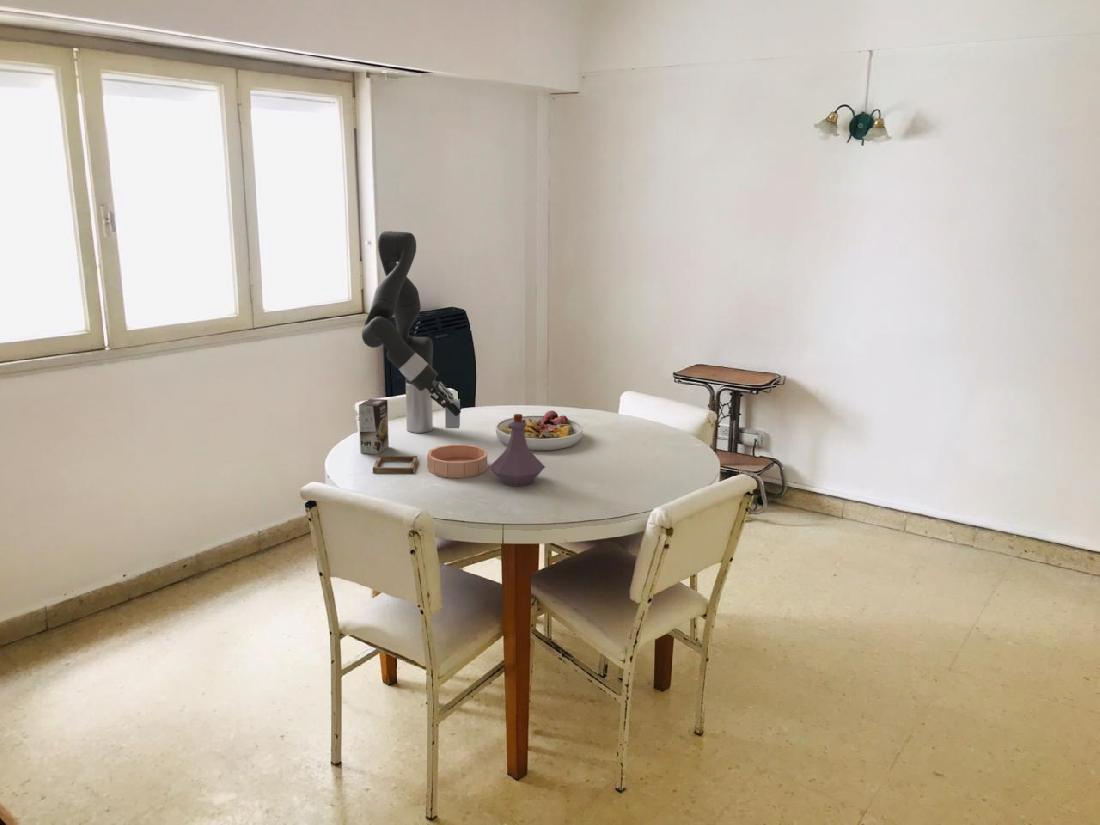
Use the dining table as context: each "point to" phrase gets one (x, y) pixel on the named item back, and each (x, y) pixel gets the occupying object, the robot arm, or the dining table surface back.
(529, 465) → the flask
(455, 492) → the dining table surface
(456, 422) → the block
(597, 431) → the dining table surface
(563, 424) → the bowl
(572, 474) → the dining table surface
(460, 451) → the bowl
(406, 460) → the tray frame
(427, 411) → the robot arm
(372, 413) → the coffee box
